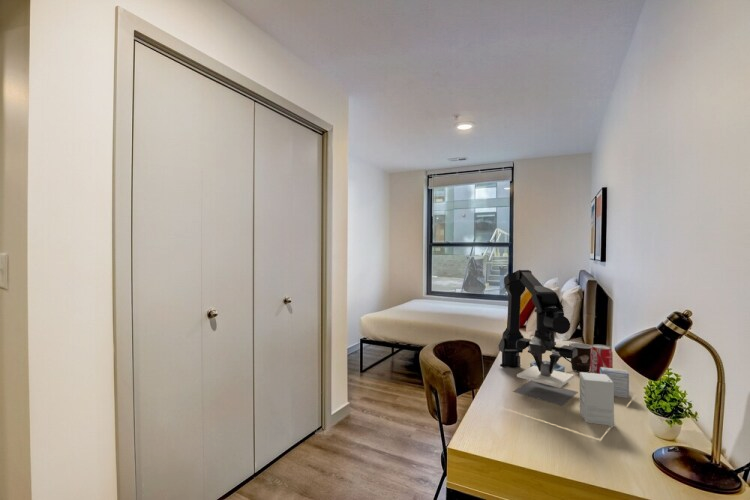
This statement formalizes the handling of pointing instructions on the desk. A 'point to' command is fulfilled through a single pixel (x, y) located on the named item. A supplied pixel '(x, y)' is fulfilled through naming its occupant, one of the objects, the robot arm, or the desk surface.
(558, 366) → the bowl
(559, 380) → the lid
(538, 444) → the desk surface
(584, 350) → the coffee mug
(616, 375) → the medicine box
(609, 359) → the soda can
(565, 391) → the mat
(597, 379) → the supplement box
